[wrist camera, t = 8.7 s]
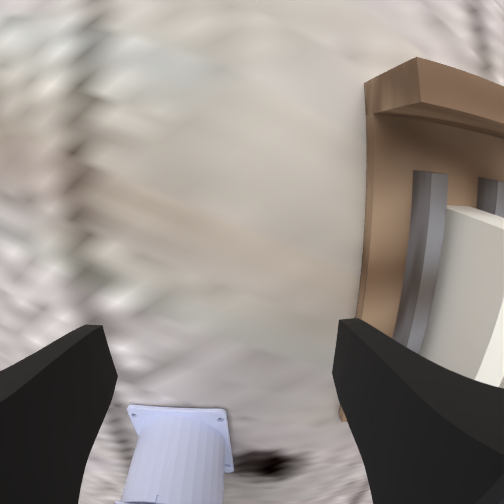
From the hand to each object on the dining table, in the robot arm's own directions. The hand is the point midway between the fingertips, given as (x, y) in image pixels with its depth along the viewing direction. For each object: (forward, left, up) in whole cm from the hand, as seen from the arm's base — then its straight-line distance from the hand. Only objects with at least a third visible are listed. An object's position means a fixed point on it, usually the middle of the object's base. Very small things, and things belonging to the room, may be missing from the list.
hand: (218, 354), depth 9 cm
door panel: (-2, -14, -8) cm, 16 cm away
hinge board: (-2, -14, -9) cm, 17 cm away
